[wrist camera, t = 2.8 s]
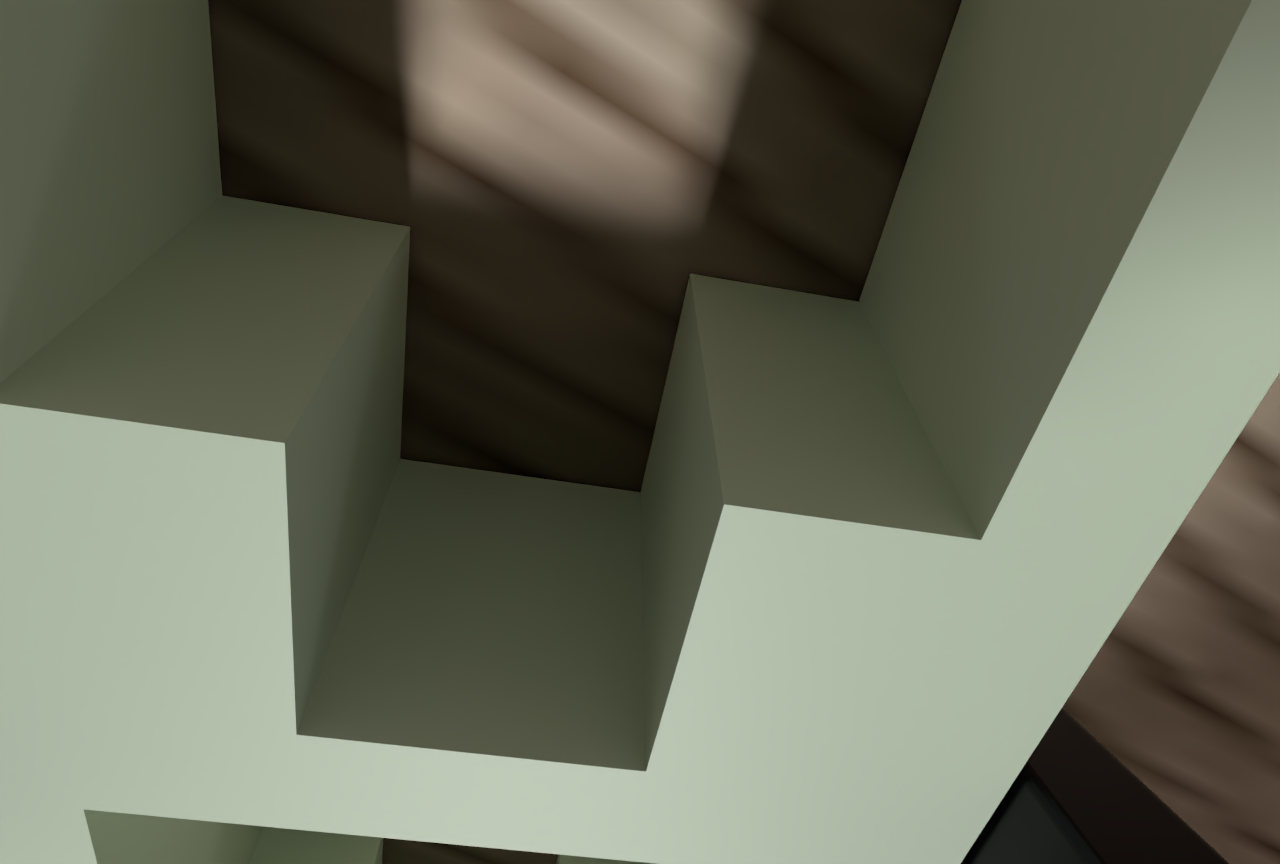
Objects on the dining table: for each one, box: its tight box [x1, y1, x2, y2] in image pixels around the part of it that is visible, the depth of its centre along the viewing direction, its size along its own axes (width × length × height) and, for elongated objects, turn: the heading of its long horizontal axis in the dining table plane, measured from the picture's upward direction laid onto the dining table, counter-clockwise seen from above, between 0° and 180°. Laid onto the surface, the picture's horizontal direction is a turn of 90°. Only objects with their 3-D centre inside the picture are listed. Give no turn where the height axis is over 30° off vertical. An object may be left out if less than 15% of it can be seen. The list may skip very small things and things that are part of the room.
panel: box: [0, 0, 1280, 864], centre depth 7 cm, size 17×7×3 cm, turn 170°
